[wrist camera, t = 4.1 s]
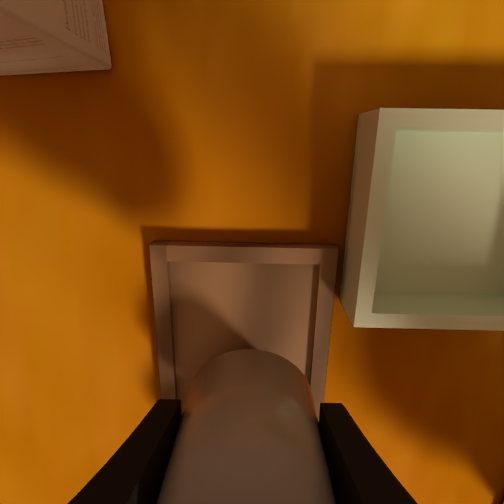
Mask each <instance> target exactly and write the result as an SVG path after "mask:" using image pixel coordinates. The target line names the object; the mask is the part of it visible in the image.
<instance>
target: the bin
mask: <svg viewBox="0 0 504 504" xmlns="http://www.w3.org/2000/svg"><path fill="white" fill-rule="evenodd" d="M340 302H341V304H342V306H343V307H344V309H345V311H346V313H347V315H348V317H349V319H350V321H351V323H352V325H353V327H367V328H408V329H449V330H490V331H504V110H493V109H428V108H378V109H374V110H371V111H368V112H364V113H361V114H359V115H358V125H357V134H356V144H355V154H354V163H353V173H352V183H351V193H350V202H349V212H348V222H347V232H346V241H345V251H344V261H343V270H342V280H341V290H340Z"/></svg>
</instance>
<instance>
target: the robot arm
mask: <svg viewBox="0 0 504 504" xmlns="http://www.w3.org/2000/svg"><path fill="white" fill-rule="evenodd" d="M181 416H182V411H181V399H159V400H158V401H157V402H156V403H155V405H154V406H153V407H152V409H151V410H150V411H149V412H148V414H147V415H146V416H145V418H144V419H143V420H142V421H141V423H140V424H139V425H138V426H137V428H136V429H135V430H134V431H133V432H132V434H131V435H130V436H129V437H128V439H127V440H126V441H125V442H124V443H123V444H122V445H121V447H120V448H119V449H118V450H117V451H116V452H115V454H114V455H113V456H112V457H111V458H110V459H109V461H108V462H107V463H106V464H105V465H104V466H103V467H102V468H101V469H100V470H99V471H98V473H97V474H96V475H95V476H94V477H93V478H92V479H91V480H90V481H89V482H88V483H87V484H86V485H85V486H84V487H83V489H82V490H81V491H80V492H79V493H78V494H77V495H76V496H75V497H74V498H73V499H72V500H71V501H70V502H69V503H68V504H157V500H158V497H159V493H160V490H161V486H162V483H163V479H164V476H165V472H166V469H167V465H168V462H169V458H170V455H171V451H172V448H173V444H174V441H175V437H176V434H177V430H178V427H179V423H180V420H181ZM319 428H320V432H321V437H322V442H323V446H324V451H325V455H326V460H327V465H328V469H329V474H330V479H331V483H332V488H333V493H334V497H335V502H336V504H417V502H416V501H415V500H414V499H413V498H412V497H411V495H410V494H409V493H408V492H407V491H406V489H405V488H404V487H403V486H402V485H401V483H400V482H399V481H398V480H397V478H396V477H395V476H394V475H393V473H392V472H391V471H390V469H389V468H388V467H387V466H386V464H385V463H384V462H383V460H382V459H381V458H380V456H379V455H378V454H377V453H376V451H375V450H374V448H373V447H372V446H371V444H370V443H369V442H368V440H367V439H366V437H365V436H364V435H363V433H362V432H361V430H360V429H359V427H358V426H357V425H356V423H355V422H354V420H353V419H352V417H351V416H350V414H349V413H348V411H347V410H346V408H345V407H344V406H343V404H342V403H320V411H319ZM503 504H504V501H503Z"/></svg>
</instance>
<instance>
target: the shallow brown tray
mask: <svg viewBox="0 0 504 504" xmlns="http://www.w3.org/2000/svg"><path fill="white" fill-rule="evenodd" d="M149 248H150V261H151V274H152V287H153V300H154V313H155V325H156V338H157V351H158V364H159V377H160V390H161V399H181V411H182V413H183V409H184V406H185V402H186V399H187V395H188V392H189V388H190V385H191V382H192V380H193V379H194V377H195V375H196V374H197V372H198V371H199V370H200V369H201V368H202V367H203V366H204V365H205V364H206V363H208V362H209V361H210V360H212V359H214V358H215V357H217V356H219V355H222V354H224V353H227V352H231V351H235V350H241V349H257V350H264V351H268V352H272V353H275V354H277V355H280V356H282V357H284V358H285V359H287V360H289V361H290V362H292V363H293V364H294V365H295V366H297V367H298V368H299V370H300V371H301V372H302V373H303V374H304V376H305V377H306V379H307V381H308V383H309V385H310V388H311V391H312V395H313V400H314V404H315V409H316V414H317V418H318V423H319V411H320V403H324V395H325V384H326V374H327V364H328V353H329V343H330V333H331V323H332V312H333V302H334V292H335V281H336V271H337V261H338V250H339V249H338V248H337V246H336V245H335V244H296V243H248V242H200V241H153V242H152V243H151V244H150V245H149Z"/></svg>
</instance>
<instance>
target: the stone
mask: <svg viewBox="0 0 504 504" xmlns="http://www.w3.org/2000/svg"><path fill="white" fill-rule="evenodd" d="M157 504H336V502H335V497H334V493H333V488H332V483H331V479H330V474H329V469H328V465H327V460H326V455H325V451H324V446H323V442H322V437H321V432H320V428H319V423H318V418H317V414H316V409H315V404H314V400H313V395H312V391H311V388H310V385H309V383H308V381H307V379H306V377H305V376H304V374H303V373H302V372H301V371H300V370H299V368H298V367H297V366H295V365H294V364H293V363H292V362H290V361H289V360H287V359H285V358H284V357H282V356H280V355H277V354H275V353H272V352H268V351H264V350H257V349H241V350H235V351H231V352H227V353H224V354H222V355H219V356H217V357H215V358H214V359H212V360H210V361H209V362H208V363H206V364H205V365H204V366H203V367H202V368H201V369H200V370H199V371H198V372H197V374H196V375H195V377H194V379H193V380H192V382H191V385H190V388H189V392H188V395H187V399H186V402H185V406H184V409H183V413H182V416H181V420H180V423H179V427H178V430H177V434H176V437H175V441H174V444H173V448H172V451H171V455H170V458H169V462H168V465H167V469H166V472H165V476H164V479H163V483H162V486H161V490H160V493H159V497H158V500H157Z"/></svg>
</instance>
